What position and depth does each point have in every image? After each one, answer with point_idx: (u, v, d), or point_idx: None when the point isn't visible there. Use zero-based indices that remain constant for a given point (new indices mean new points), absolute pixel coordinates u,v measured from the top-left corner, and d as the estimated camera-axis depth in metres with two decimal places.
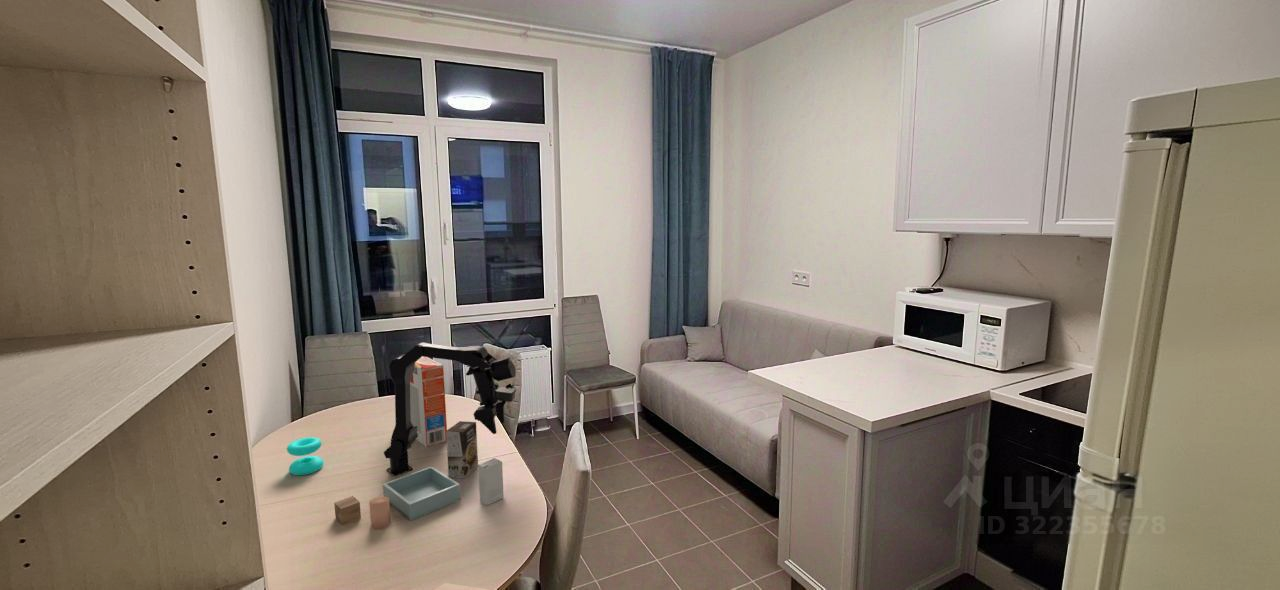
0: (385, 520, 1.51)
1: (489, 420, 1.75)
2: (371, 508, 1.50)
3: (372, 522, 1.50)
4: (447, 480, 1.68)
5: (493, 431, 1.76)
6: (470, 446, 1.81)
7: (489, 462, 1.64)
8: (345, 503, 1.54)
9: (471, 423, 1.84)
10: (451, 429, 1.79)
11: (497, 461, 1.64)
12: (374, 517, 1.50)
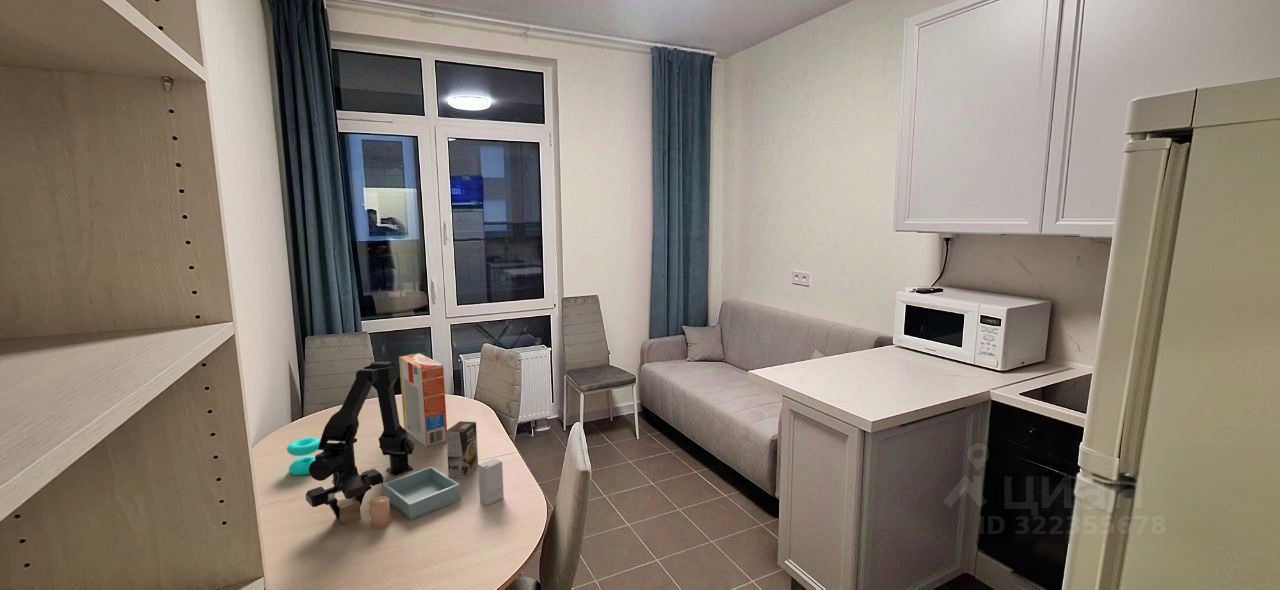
0: (385, 520, 1.51)
1: None
2: (371, 508, 1.50)
3: (372, 522, 1.50)
4: (447, 480, 1.68)
5: (335, 515, 1.53)
6: (470, 446, 1.81)
7: (489, 462, 1.64)
8: (345, 502, 1.54)
9: (471, 423, 1.84)
10: (451, 429, 1.79)
11: (497, 461, 1.64)
12: (374, 517, 1.50)
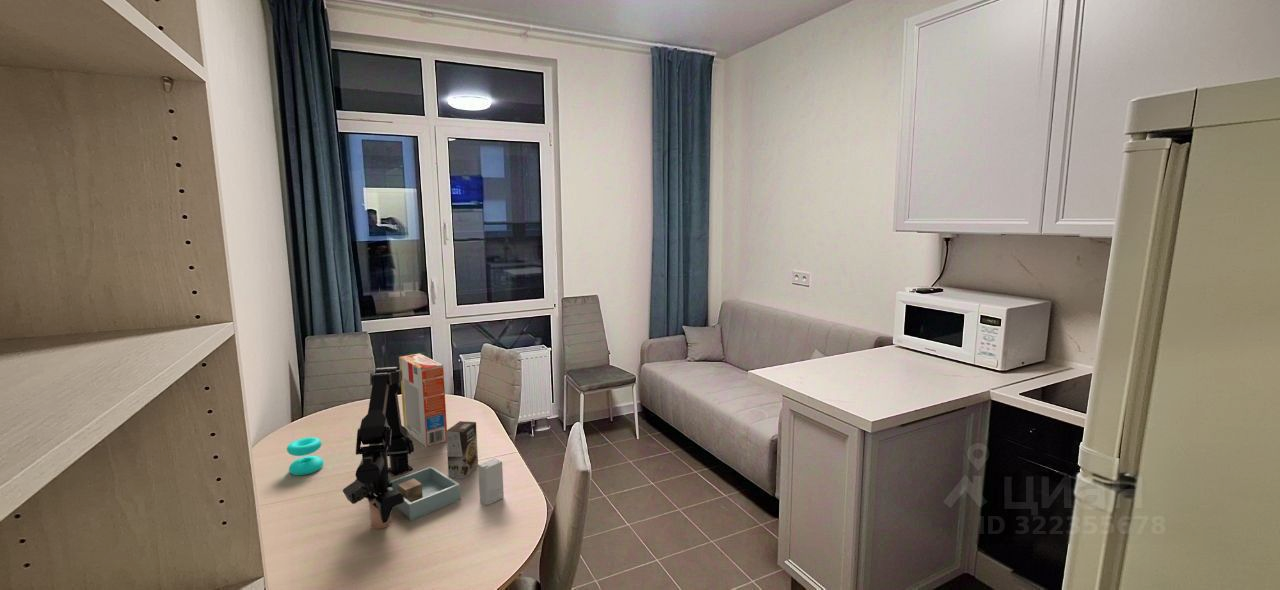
0: None
1: None
2: (370, 508, 1.50)
3: (372, 522, 1.50)
4: (447, 480, 1.68)
5: None
6: (470, 446, 1.81)
7: (489, 462, 1.64)
8: (408, 483, 1.63)
9: (471, 423, 1.84)
10: (451, 429, 1.79)
11: (497, 461, 1.64)
12: (373, 517, 1.50)
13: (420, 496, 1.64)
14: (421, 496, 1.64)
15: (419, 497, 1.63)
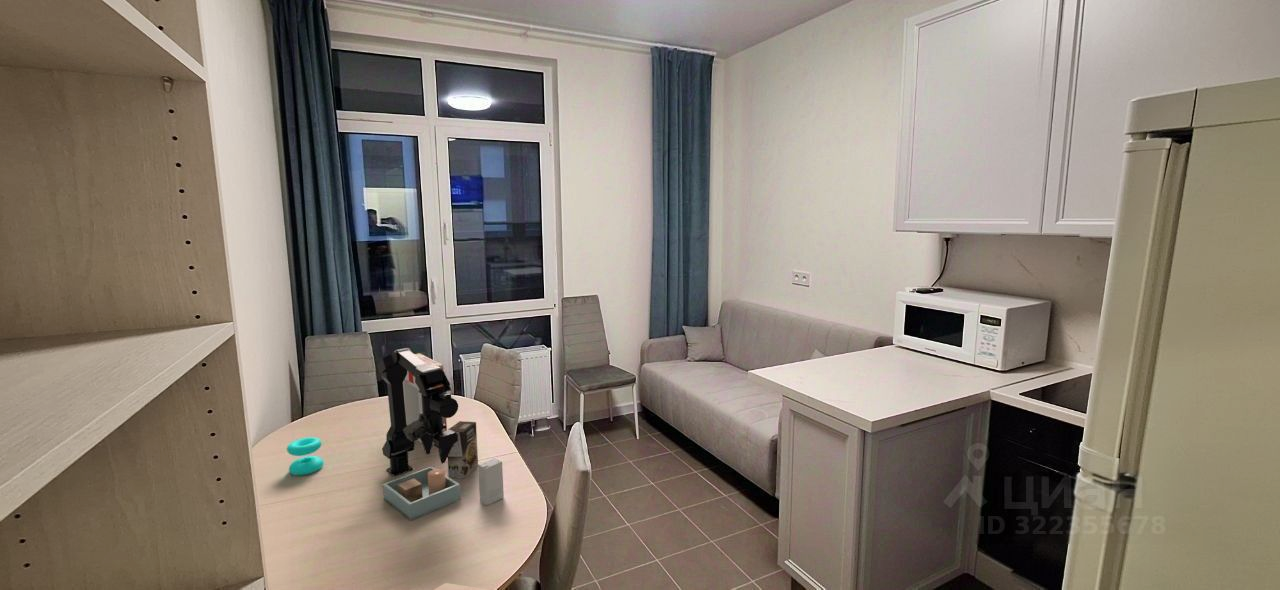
0: None
1: None
2: (429, 479, 1.64)
3: (430, 492, 1.65)
4: (447, 480, 1.68)
5: None
6: (470, 446, 1.81)
7: (489, 462, 1.64)
8: (408, 483, 1.63)
9: (471, 423, 1.84)
10: (451, 429, 1.79)
11: (497, 461, 1.64)
12: (432, 487, 1.64)
13: (420, 496, 1.64)
14: (421, 496, 1.64)
15: (419, 497, 1.63)
